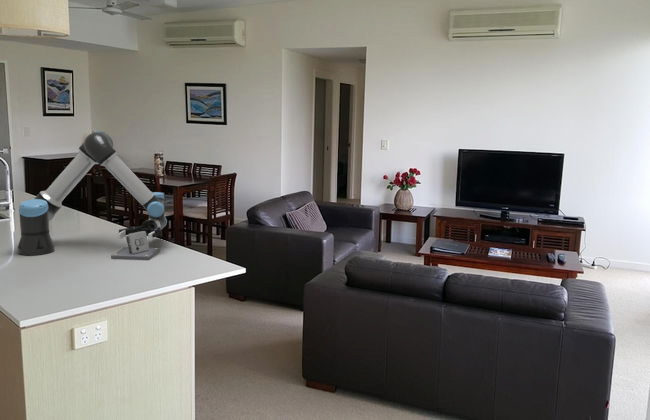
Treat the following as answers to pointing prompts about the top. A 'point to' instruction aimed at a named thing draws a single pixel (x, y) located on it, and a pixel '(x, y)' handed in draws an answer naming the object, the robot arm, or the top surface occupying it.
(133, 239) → the electrical switch
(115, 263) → the top surface
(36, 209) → the robot arm
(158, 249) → the mounting plate
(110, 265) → the top surface
